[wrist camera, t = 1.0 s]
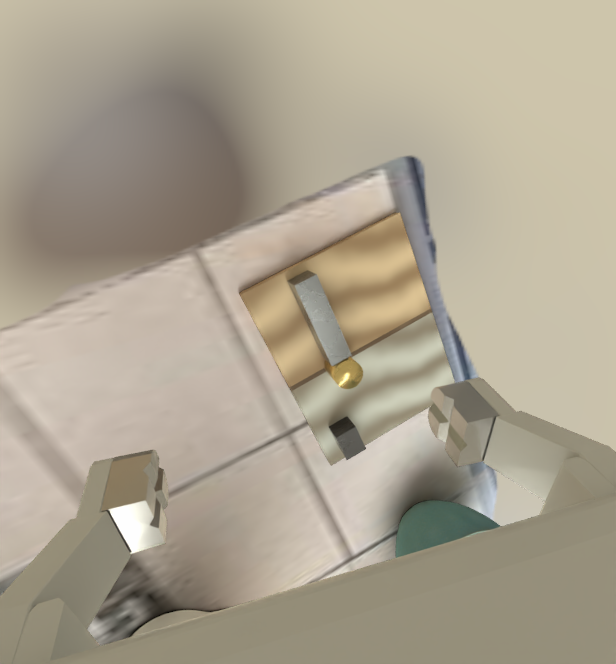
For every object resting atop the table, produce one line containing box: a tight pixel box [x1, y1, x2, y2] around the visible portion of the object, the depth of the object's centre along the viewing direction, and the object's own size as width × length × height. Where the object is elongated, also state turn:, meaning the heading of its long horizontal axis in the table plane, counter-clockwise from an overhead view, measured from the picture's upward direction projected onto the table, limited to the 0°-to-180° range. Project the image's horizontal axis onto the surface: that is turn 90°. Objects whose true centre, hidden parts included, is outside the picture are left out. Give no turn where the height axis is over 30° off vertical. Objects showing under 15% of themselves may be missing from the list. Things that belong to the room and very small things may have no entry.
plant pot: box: [396, 500, 501, 558], centre depth 60 cm, size 18×18×12 cm
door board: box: [239, 213, 455, 466], centre depth 52 cm, size 28×22×1 cm
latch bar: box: [287, 270, 363, 389], centre depth 47 cm, size 15×4×4 cm, turn 25°
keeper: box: [329, 416, 366, 460], centre depth 53 cm, size 4×3×3 cm
